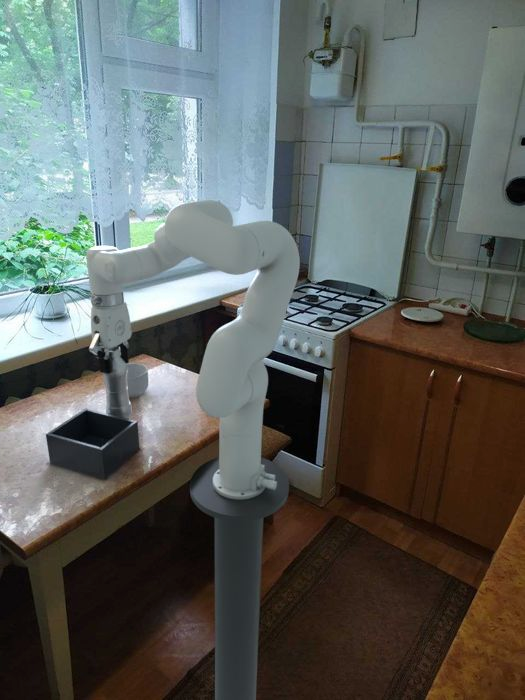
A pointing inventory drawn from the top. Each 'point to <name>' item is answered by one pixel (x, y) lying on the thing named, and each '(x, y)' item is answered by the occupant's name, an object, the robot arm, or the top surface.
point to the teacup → (136, 379)
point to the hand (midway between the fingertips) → (114, 366)
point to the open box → (93, 443)
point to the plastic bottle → (117, 386)
